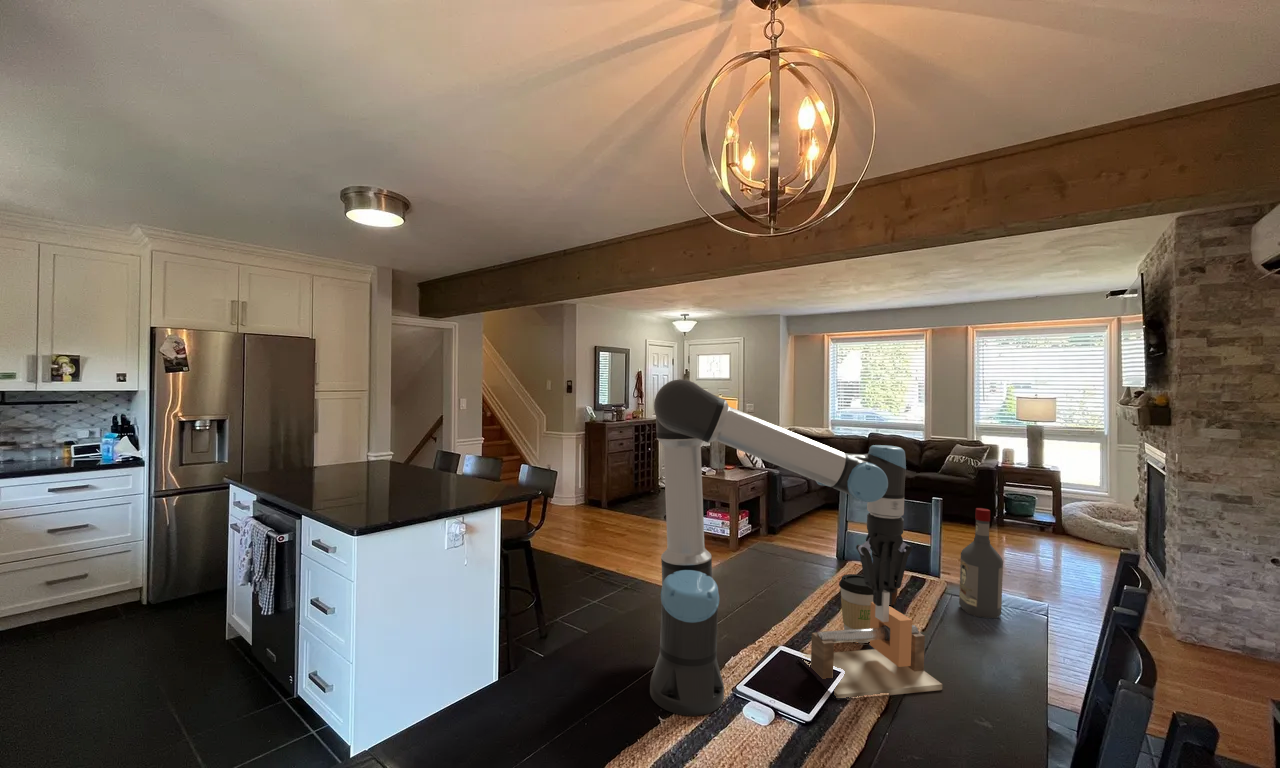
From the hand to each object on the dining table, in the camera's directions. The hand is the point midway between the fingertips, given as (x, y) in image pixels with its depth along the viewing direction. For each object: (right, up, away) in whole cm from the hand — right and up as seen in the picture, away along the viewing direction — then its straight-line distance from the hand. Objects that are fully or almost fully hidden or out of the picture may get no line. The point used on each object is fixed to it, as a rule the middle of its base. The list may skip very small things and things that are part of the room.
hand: (881, 619), depth 121 cm
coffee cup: (+1, -13, +17) cm, 21 cm away
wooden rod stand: (-4, -12, -1) cm, 13 cm away
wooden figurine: (+19, -13, +40) cm, 46 cm away
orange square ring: (+2, -8, +1) cm, 8 cm away
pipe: (-3, -5, -1) cm, 6 cm away
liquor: (+45, -14, +36) cm, 60 cm away
